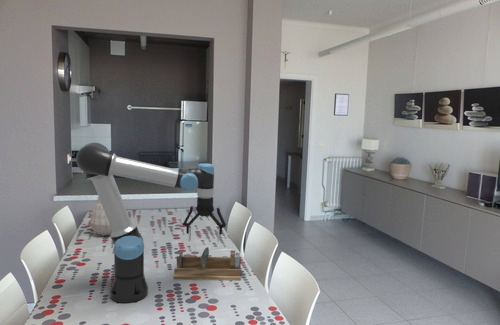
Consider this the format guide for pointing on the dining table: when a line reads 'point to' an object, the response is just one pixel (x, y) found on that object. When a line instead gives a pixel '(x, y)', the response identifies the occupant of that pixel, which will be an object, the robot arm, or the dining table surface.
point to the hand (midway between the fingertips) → (204, 240)
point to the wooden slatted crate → (209, 268)
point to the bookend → (181, 259)
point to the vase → (100, 220)
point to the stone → (204, 257)
